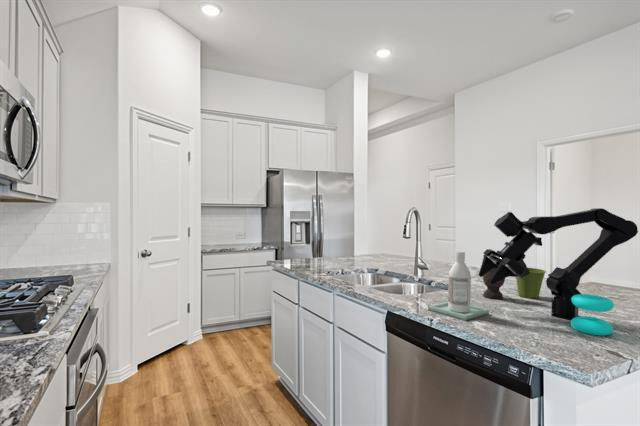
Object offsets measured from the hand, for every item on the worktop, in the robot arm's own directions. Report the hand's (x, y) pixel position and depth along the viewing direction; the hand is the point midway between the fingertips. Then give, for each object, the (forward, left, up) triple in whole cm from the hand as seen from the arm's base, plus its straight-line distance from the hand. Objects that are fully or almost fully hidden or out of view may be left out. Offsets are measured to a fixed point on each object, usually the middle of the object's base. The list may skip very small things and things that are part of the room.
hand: (485, 279), depth 122 cm
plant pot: (+2, -39, -12) cm, 40 cm away
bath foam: (+5, +7, -11) cm, 14 cm away
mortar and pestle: (+8, -25, -11) cm, 28 cm away
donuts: (-28, -9, -12) cm, 31 cm away
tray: (+5, +7, -11) cm, 14 cm away
